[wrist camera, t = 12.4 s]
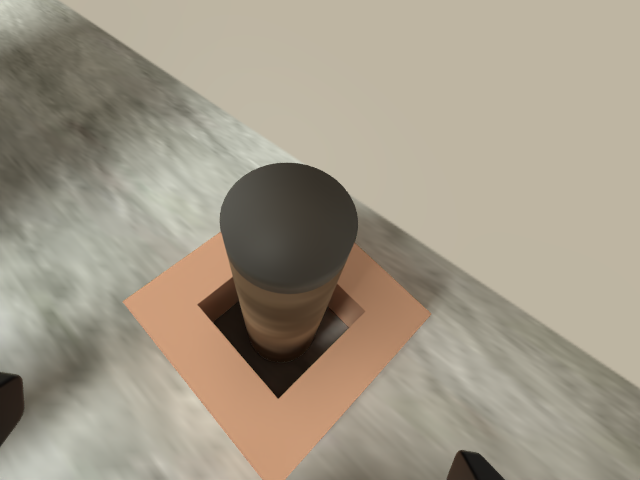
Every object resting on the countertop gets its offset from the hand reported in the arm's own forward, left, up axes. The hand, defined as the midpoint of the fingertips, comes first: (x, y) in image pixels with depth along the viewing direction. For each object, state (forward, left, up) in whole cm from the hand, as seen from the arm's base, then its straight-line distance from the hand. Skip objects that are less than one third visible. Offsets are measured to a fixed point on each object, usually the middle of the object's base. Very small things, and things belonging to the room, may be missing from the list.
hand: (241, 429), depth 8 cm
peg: (+4, +3, -14) cm, 15 cm away
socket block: (+4, +3, -14) cm, 15 cm away
